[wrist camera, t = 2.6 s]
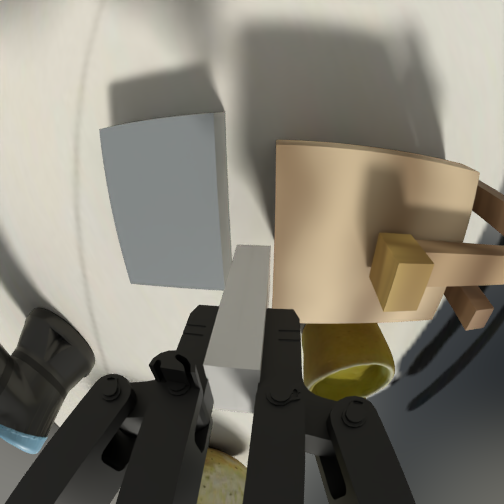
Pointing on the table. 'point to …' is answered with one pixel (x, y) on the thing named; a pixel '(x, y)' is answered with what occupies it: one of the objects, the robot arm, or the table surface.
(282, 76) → the table surface
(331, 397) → the mug
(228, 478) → the speckled ball
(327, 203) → the lid
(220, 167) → the block
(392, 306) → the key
